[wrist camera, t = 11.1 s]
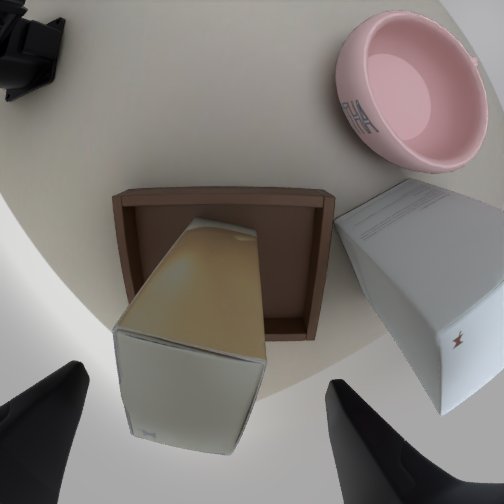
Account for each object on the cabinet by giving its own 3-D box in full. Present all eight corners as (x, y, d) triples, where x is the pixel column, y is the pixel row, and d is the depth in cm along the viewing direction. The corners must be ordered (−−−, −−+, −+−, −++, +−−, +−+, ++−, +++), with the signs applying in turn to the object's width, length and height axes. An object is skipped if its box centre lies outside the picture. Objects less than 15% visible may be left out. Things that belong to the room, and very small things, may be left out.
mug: (372, 191, 17) (417, 212, 12) (291, 69, 14) (309, 37, 9) (469, 120, 15) (519, 123, 9) (408, 16, 12) (448, -9, 6)
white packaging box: (363, 297, 21) (435, 422, 9) (330, 218, 18) (435, 334, 6) (433, 255, 19) (533, 343, 8) (412, 174, 17) (553, 228, 5)
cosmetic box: (239, 306, 20) (232, 460, 9) (182, 295, 20) (129, 440, 8) (259, 224, 18) (275, 365, 6) (193, 211, 17) (106, 329, 6)
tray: (146, 315, 21) (136, 334, 19) (128, 189, 17) (111, 196, 15) (308, 320, 21) (314, 340, 19) (324, 189, 17) (335, 197, 15)
